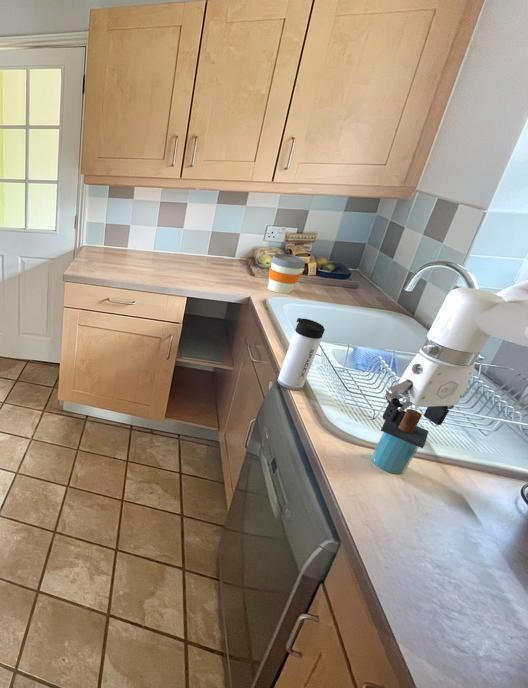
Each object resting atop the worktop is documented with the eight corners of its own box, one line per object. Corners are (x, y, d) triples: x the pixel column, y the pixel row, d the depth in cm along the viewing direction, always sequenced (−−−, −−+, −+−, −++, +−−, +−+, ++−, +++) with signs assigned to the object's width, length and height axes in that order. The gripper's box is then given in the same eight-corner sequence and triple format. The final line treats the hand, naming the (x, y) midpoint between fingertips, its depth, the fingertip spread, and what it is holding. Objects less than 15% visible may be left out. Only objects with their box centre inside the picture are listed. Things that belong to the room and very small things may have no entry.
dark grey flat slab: (386, 417, 92) (396, 398, 90) (427, 433, 88) (438, 414, 86) (380, 430, 88) (390, 411, 86) (422, 448, 84) (434, 428, 81)
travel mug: (277, 375, 123) (298, 314, 114) (303, 383, 119) (326, 321, 111) (274, 384, 118) (296, 322, 110) (301, 393, 115) (326, 330, 106)
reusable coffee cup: (269, 282, 195) (279, 251, 188) (299, 290, 186) (310, 259, 180) (258, 288, 187) (268, 256, 181) (289, 297, 178) (300, 264, 172)
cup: (399, 459, 93) (416, 428, 89) (408, 478, 88) (427, 445, 84) (367, 451, 95) (383, 420, 91) (375, 468, 90) (392, 436, 87)
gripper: (427, 363, 75) (389, 436, 82) (510, 360, 77) (466, 432, 84) (390, 342, 82) (358, 411, 89) (467, 340, 84) (429, 408, 91)
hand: (410, 421), depth 87 cm, fingers open, 9 cm apart
